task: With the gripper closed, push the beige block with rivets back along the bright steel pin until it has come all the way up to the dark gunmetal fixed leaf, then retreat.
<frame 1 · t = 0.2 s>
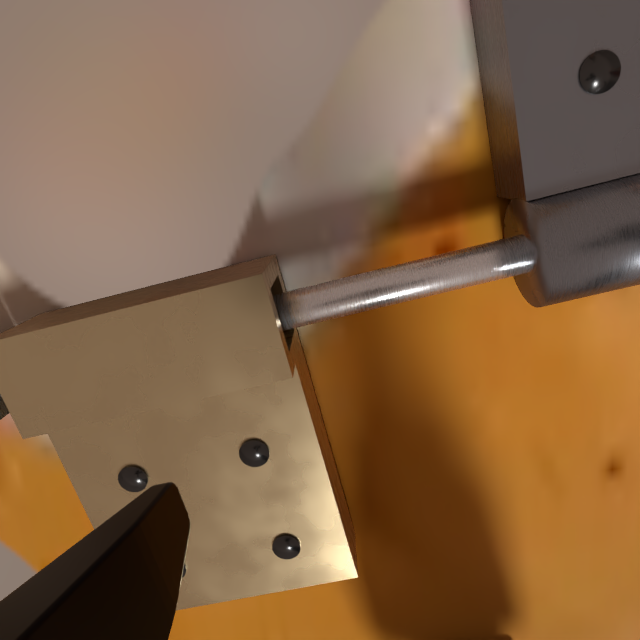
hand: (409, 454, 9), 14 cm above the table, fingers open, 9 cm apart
beige block with rivets: (197, 455, 23), point 3 cm above the table, slide at 10.0 cm
fixed leaf: (439, 260, 22), on the table
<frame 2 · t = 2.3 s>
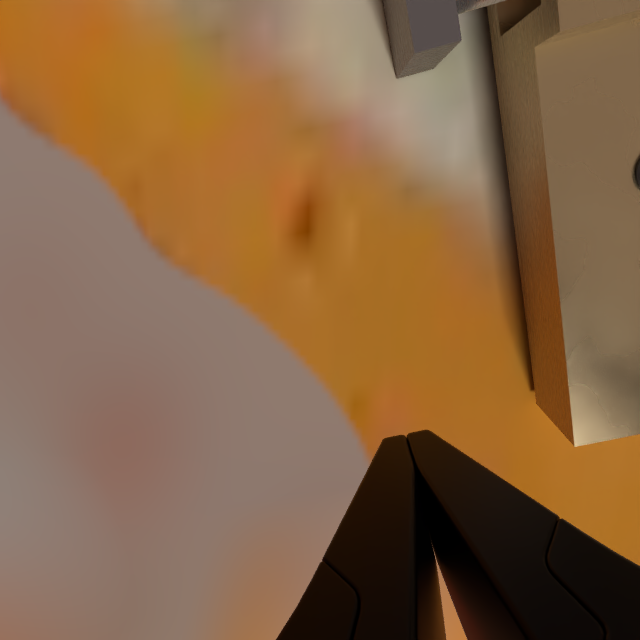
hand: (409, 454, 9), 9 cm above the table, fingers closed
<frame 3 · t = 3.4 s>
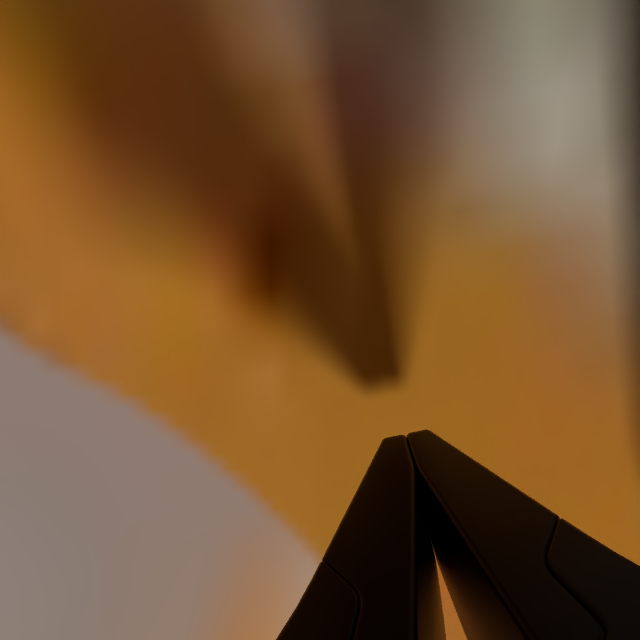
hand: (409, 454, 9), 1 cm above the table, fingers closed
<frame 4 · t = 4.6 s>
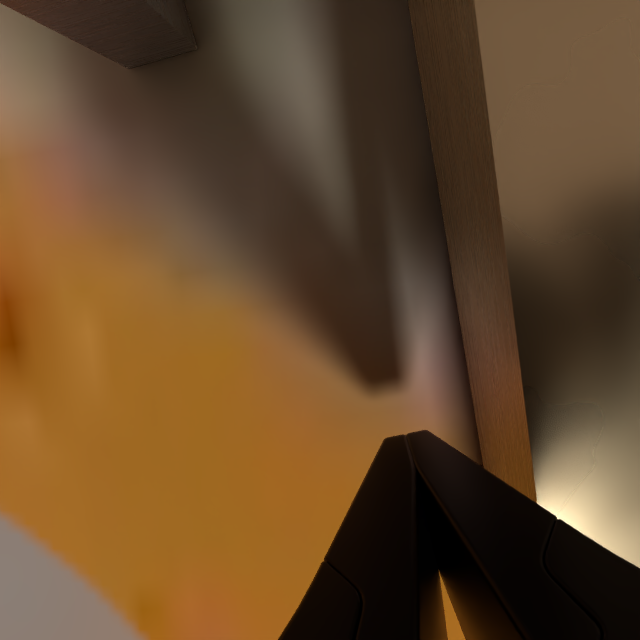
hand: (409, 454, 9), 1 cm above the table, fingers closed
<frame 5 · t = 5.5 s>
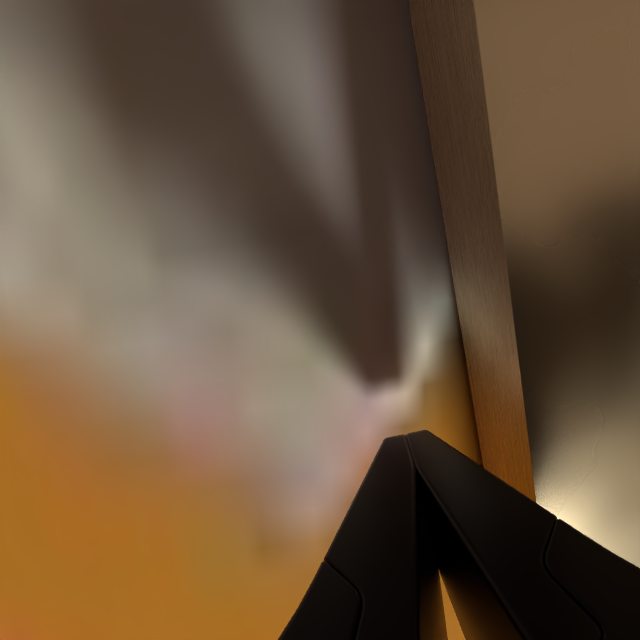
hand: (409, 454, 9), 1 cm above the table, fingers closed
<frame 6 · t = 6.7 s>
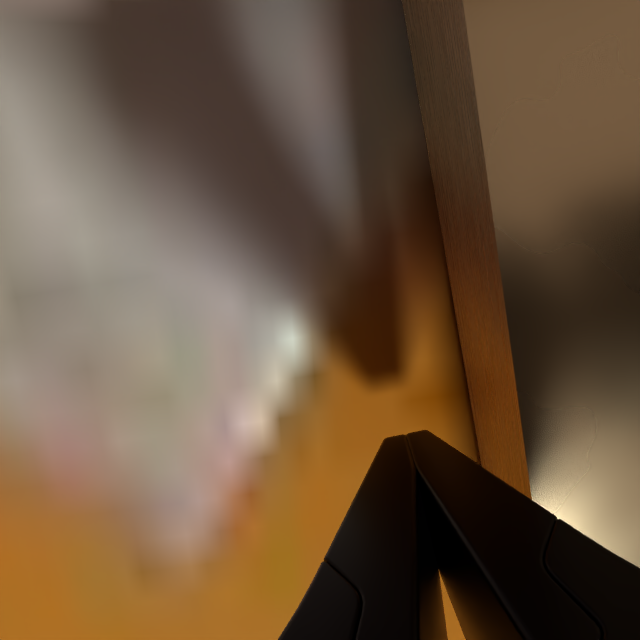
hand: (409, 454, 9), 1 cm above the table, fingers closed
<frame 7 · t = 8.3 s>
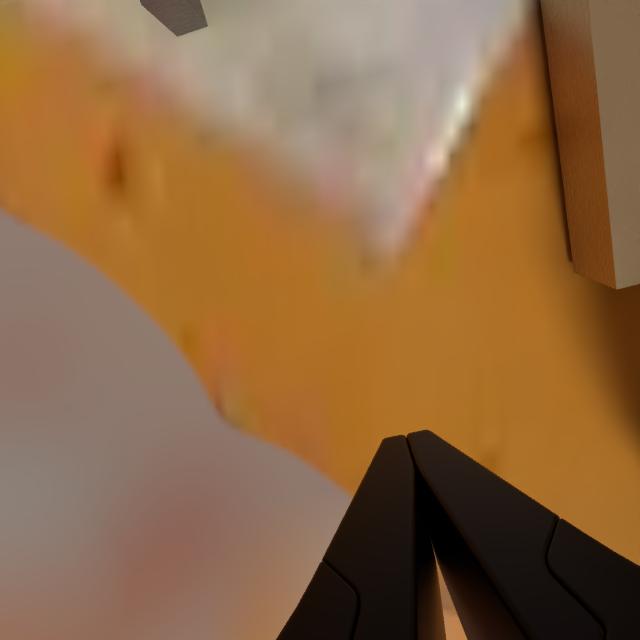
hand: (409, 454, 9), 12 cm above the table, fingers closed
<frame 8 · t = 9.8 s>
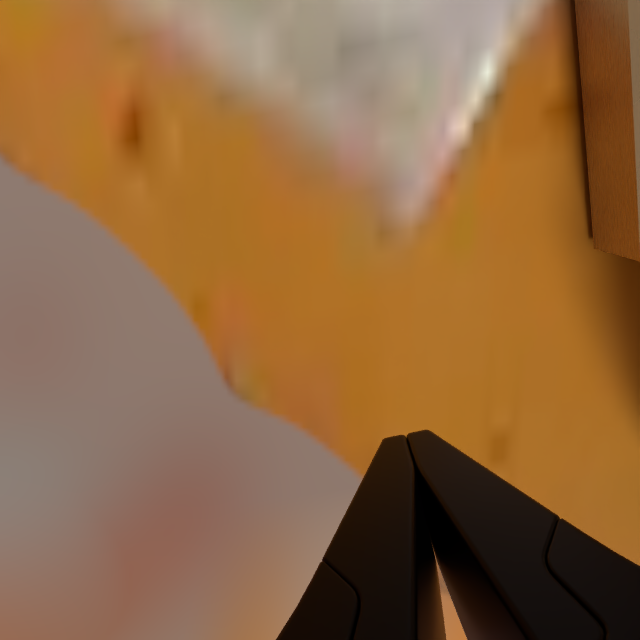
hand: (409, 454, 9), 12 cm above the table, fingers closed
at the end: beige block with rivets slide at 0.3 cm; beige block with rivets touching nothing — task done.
